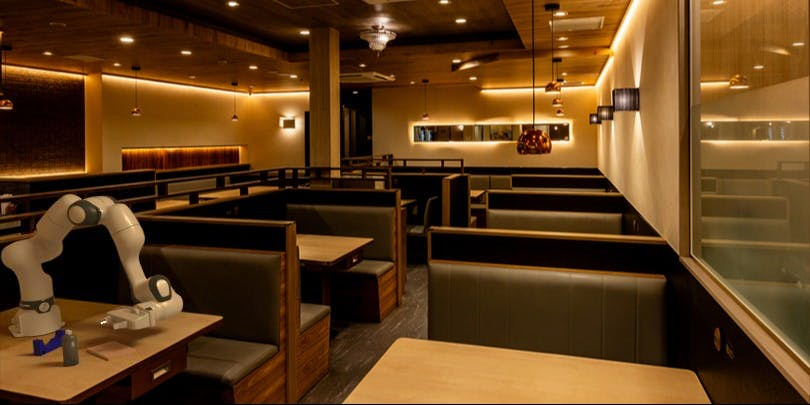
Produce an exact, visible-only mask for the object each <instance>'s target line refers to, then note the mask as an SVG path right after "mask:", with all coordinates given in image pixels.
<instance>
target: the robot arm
mask: <svg viewBox="0 0 810 405" xmlns="http://www.w3.org/2000/svg"><path fill="white" fill-rule="evenodd" d="M99 224H100V225H103V226H105V227H106V229H107V230H108V231H109V234H110V237H111V239H112V240H113V242H114V244H115V247H116V249H117V253H118V256H119V260H120V262H121V265H122V269H123V270H124V273H125V275H126V279H127V280H128V283H129V288H130V287H131V289H130V295H131V299H133V300H132V302H133V301H134V302H135V303H136V305H134V306H132V308H131V309H129V308H120V309H114V310H109V311H107V313H106V315H105V316H106V317H104V318H100V319H99V320H98V324H99V325H101V326H102V325H106V324H107V323H111V326H112V327H111V328H112V329H113V330H118V329H126V328H127V329H129V330H133V331H134V330H141V329H145V328H153V327H156V322H158V321H159V322H160V321H161V322H162V321H166V320H168V319H171V318H174V317H175V316H178V315H179V314H180V313H181V312H182V310H183V306H184V302H183V299H182V296H180V294H178V293H176V292H175V290H174V288H173V287H172V285H171V284H172V283H171V282H170V280H169V278H168V277H166V276H164V275H163V274H155V275H153V276H150V277H148V278H146V276H145V273H144V271H143V268H142V265H141V263H140V258H139V256H140V254H141V253H140V252H141V250H142V248H143V246H144V243H145V239H146V236H145V233H144V229H143V228H142V226H141V225H140V222H139V220H138V218H137V217H136V216H135V214H134V213H133V211H132V210H131V209H130V208H129V207H128V205H126V204H124V203H119V201H117V199H116V198H115V197H112V196H111V195H99V196H91V197H87V198H84V199H82V198H81V197H80V196H77V195H76V194H73V193H72V194H71V193H70V194H65V195H63V196H61V197H60V198H59V199H57V201H55V202H54V203H53V204H52V205H51V207H49V208H48V210H47V211H46V212H45V213H44V214H43V215H42V217H41V218H40V219H39V221H38V222H37V224H36V225H35V226H36V230H37V232H36V233H35V235H33V236H32V237H29V238H27V239H21V240H17V241H15V242H13V243H11V244H8V245H6V246H5V247H4V248H3V249H2V251H1V253H0V254H1V255H0V259H1V261H2V263H3V264H4V266H5V267H7V268H8V269H10V270H11V271H13V272H14V274H15V276H16V277H17V280H18V284H19V291H20V300H19V309H18V311H17V312H16V313H15V314H14V317H12V318H11V319H10V320H11V324H12V325H9V326H8V331H9V332H10V333H11V334H12V336H13V338H22V337H36V336H37V337H38V336H43V335H47V334H50V333H54V332H55V331H56V330H58V329H60V330H61V329H62V327H63V326H65V325H66V322H65V321H62V316H61V312H60V307H59V306H57V305H56V297H55V294H54V291H53V290H54V289H53V288H54V287H53V279H52V276H50V275H49V274H47V273H45V272H44V270H43V268H42V264H43V263H45V262H46V263H47V262H49V261H52V260H53V259H56V258H57V257H59V256H60V255H61V254H62V252H63V249H64V248H63V247H64V245H63V240H64V239H65V238H66V236H67V235H68V234H69V232H70V231H71V230H72V229H73V228H74V227H75V226H76V227H83V228H87V227H93V226H97V225H99Z"/></svg>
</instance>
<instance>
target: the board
mask: <svg viewBox="0 0 810 405" xmlns="http://www.w3.org/2000/svg"><path fill="white" fill-rule="evenodd" d="M136 351H137V350H136V348H133V347H130V346H128V345H126V344H123V343H121V342H118V341H115V340H111V341H108V342H104V343H101V344H98V345H94V346H91V347H88V348H86V352H88V353H90V354H93V355H95V356H97V357H99V358H101V359H103V360H106V361H108V362H109V360H110V361H113V360H115V358H116V359H118V357H119V358H121V356H122V357H125V356H127V355H130V354H134V353H136ZM124 355H125V356H124ZM112 359H113V360H112Z"/></svg>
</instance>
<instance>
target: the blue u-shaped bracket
mask: <svg viewBox="0 0 810 405" xmlns="http://www.w3.org/2000/svg"><path fill="white" fill-rule="evenodd" d="M54 332H55V333H54V337H51V338H50V339H49V341H48V342H47V343H46V344H45V342H44V339H43V338H42V339H39V338H36V339H33V340H32V346H33V347H32V348H33V349H32V350H33V356H34V357H35V356H36V357H42V356H45V355H47V354H48V353H51V352H53V351H56V350H57V349H59V347H60V348H62V337H63V336H64V335H65V334H66V330H65V329H61V328H60V329H58V330H56V331H54Z"/></svg>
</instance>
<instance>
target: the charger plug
mask: <svg viewBox="0 0 810 405" xmlns="http://www.w3.org/2000/svg"><path fill="white" fill-rule="evenodd" d="M61 349H62V357H63V358H62V359H63V367H65V368H70V367H75V366H78V365H79V363H80V358H79V357H80V356H79V346H78V337H77V335H76V334H75V333H73V331H72V330H70V329H66V330H65V335H64V336H63V337H62V347H61Z"/></svg>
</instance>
